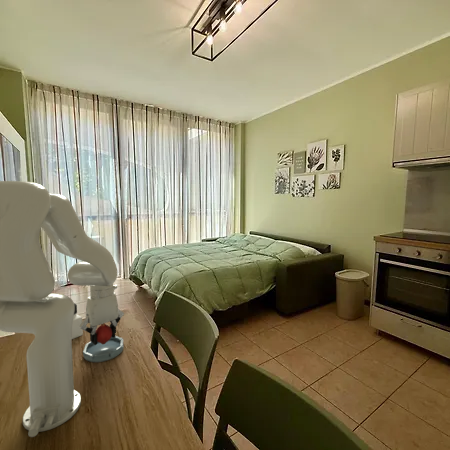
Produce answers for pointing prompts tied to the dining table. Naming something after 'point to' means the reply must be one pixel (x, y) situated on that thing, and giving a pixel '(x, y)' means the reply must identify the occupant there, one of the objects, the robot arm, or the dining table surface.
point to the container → (76, 324)
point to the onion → (103, 333)
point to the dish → (103, 350)
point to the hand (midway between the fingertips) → (103, 339)
